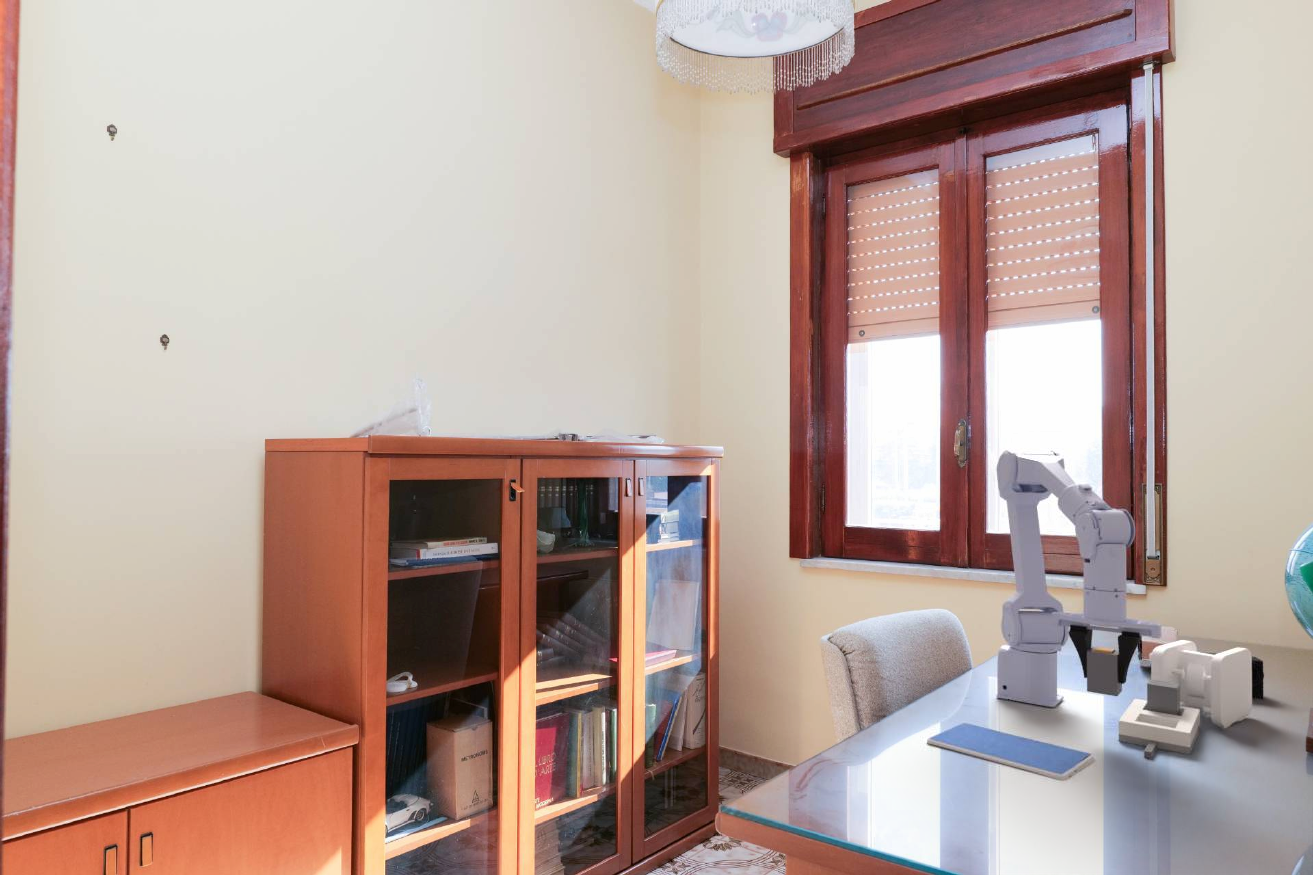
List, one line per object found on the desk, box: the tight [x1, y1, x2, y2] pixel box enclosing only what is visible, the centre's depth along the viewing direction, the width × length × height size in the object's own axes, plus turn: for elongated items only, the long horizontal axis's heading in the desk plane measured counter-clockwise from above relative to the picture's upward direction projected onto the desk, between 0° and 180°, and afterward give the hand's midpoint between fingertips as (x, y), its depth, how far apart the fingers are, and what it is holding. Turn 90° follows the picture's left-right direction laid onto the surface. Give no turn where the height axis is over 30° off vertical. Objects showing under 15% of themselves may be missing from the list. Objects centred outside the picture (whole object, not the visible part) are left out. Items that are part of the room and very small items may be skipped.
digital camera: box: [1199, 651, 1265, 700], centre depth 152 cm, size 10×5×7 cm, turn 71°
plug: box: [1086, 646, 1123, 697], centre depth 124 cm, size 4×4×6 cm
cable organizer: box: [1148, 639, 1253, 729], centre depth 137 cm, size 15×11×12 cm
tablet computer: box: [926, 722, 1095, 781], centre depth 117 cm, size 19×13×1 cm, turn 44°
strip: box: [1118, 679, 1201, 760], centre depth 124 cm, size 22×9×7 cm, turn 142°
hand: (1104, 679), depth 124 cm, fingers closed on plug, 4 cm apart
